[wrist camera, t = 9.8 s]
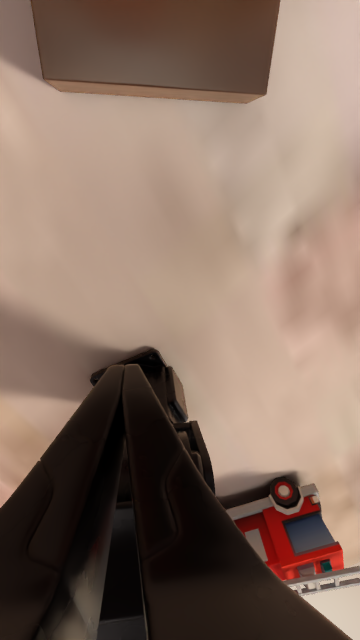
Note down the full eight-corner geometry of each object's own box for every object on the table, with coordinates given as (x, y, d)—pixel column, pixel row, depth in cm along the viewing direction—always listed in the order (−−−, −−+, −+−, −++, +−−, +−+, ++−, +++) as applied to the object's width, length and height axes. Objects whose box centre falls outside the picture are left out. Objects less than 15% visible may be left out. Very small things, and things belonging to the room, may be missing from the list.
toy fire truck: (315, 500, 41) (361, 590, 33) (193, 536, 43) (206, 632, 34) (310, 467, 37) (361, 562, 28) (173, 508, 38) (183, 612, 30)
